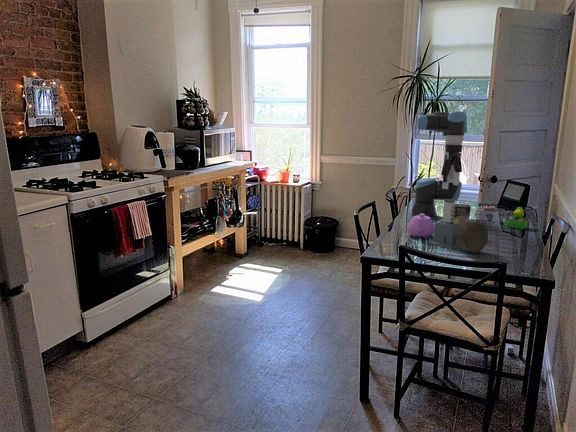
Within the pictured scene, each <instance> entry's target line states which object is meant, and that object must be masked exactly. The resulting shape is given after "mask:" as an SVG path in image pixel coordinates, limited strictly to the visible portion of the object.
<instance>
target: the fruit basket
mask: <svg viewBox="0 0 576 432" xmlns="http://www.w3.org/2000/svg"><path fill="white" fill-rule="evenodd" d="M524 216H525V213H524V209H523V208H522V207H520V206H518V207H516V208H515V210H514V211H513V215H508V216H507V217H505V218H504V220H505V224H506V227H507V228H513V229H518V230H519V229H520V230H524V229H526V228H527V226H528V225H529V224H528V223H529V221H530V218H525V217H524Z"/></svg>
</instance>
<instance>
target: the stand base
mask: <svg viewBox="0 0 576 432" xmlns="http://www.w3.org/2000/svg"><path fill="white" fill-rule="evenodd" d="M442 221H443V218H442V219H439V220H437V221H435V222H434V227H435V229H434V233H433V239H431V240H430V241H428V242H427V243H428V245H429V246H430V245H431V246H436V247H440V246H441V247H440V248H445V247H446V249H449V248H451V250H452V249H454V248H455V247H457V246H458V245H460V244H459V241H458V230H459V228H460V222H459V220H458V219H455V220H454V221H453V224H446V223H442ZM453 247H454V248H453Z"/></svg>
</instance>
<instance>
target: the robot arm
mask: <svg viewBox="0 0 576 432" xmlns="http://www.w3.org/2000/svg"><path fill="white" fill-rule="evenodd" d="M417 117H418V118H417V128H416V129H417V130H420V131H430V132H434V133H443V134H442V136H443V137H444V138H445V141H444V142H445V143H444V152H443V153H444V155H443V164H442V169H441V172H440V178H439V180H437V179H436V178H435V177H426V178H419V179H418V180H417V181H416V184H415V195H414V196H415V197H414V203H413V206H412V208H411V212H410V213H411V216H413V217H414V216H417V215H419V214H425V216H428V217H430V218H431V219H432V218H436V216H437V210H436V205H435V200H439V201H444V200H446V199H453V200H455V201H457V200H459V198H460V195H461V191H462V187H463V186H462V185H463V183H462V182H461V181H460V175H461V173H462V172H463V167H462V152H463V141H464V139H465V138H464V137H465V134H466V133H468V122H467V121H468V120H467V114H466V113H465V112H464V111H437V112H436V111H435V112H431V113H428V114H421V115H418V116H417Z"/></svg>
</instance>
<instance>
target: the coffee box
mask: <svg viewBox="0 0 576 432" xmlns="http://www.w3.org/2000/svg"><path fill="white" fill-rule="evenodd" d="M455 206H456V208H454V209H455V210H456V211H455V212H454V213H455V215H454V217H455V219H458V220H459V222H460V227H461V225H462V224H464V223H465V222H468V221H470V219H471V218H470V216H471V209H472V207H471V205H470V204H461V203H460V204H459V203H455ZM455 219H454V220H455ZM454 220H453V221H454Z"/></svg>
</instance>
